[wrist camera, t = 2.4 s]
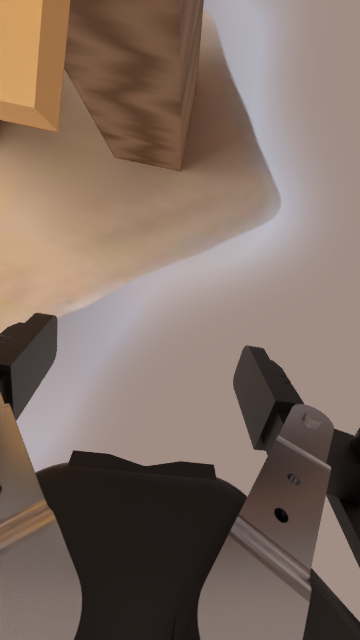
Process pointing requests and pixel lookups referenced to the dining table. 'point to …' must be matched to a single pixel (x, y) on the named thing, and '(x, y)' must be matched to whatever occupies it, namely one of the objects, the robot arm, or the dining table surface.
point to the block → (32, 61)
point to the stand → (137, 73)
